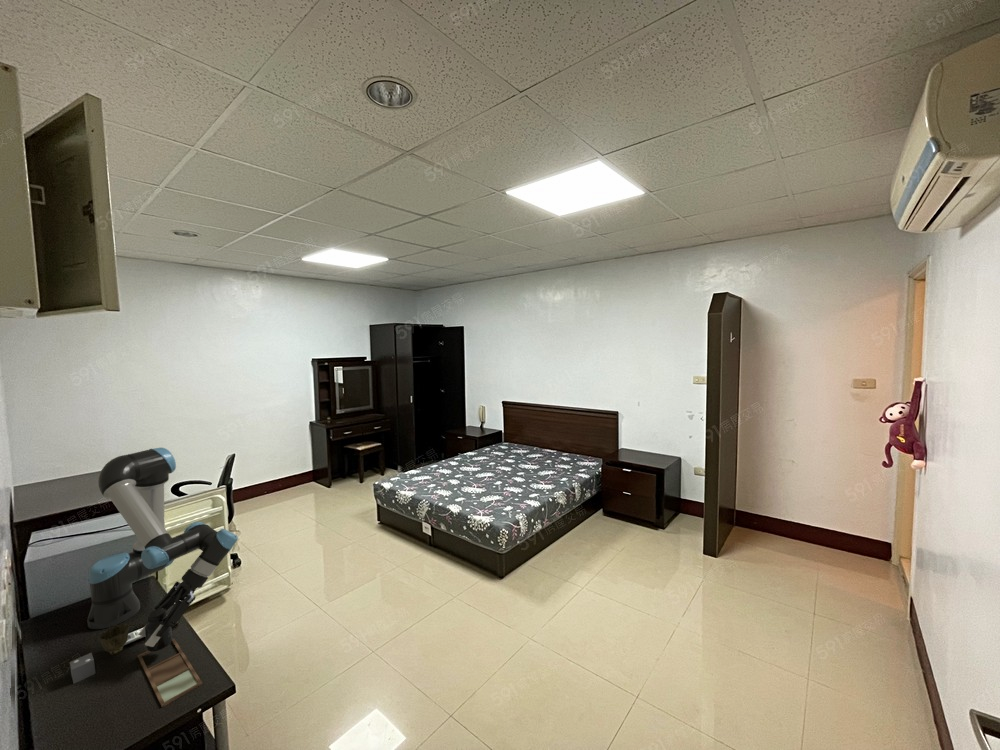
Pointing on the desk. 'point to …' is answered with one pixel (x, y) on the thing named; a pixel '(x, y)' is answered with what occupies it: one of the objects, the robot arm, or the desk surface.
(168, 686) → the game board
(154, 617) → the supplement bottle
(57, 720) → the desk surface
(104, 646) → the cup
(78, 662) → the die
